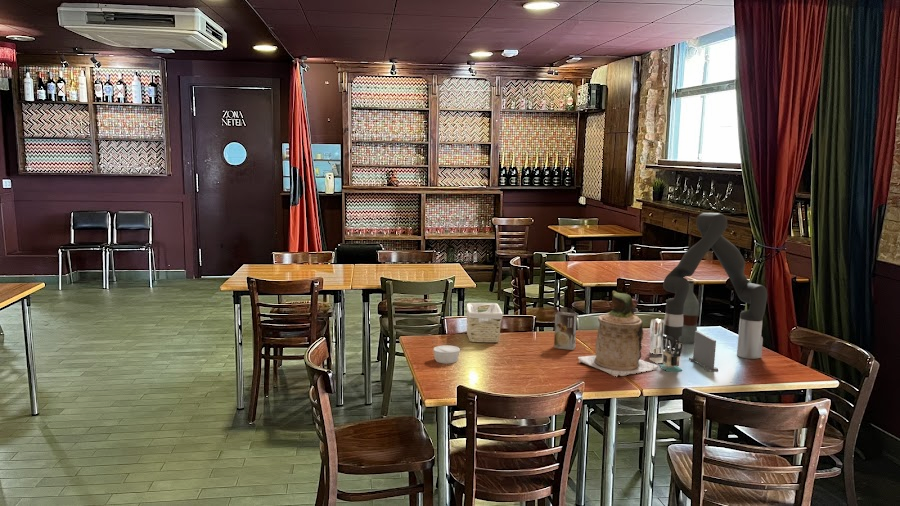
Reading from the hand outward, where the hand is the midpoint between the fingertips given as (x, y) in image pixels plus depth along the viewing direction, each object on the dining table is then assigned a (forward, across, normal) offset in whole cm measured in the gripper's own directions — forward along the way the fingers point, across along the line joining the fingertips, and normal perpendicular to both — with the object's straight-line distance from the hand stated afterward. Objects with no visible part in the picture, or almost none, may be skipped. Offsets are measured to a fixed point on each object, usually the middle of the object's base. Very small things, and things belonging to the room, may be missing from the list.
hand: (670, 363), depth 282 cm
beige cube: (+1, 0, 0) cm, 1 cm away
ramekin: (+3, +15, +93) cm, 94 cm away
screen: (+2, +4, -16) cm, 17 cm away
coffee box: (+3, +33, +36) cm, 49 cm away
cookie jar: (+3, +5, +21) cm, 22 cm away
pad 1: (+2, +10, 0) cm, 10 cm away
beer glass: (+3, +23, -4) cm, 23 cm away
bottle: (+3, +41, -27) cm, 49 cm away
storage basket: (+3, +53, +71) cm, 89 cm away
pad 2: (+2, 0, 0) cm, 2 cm away
